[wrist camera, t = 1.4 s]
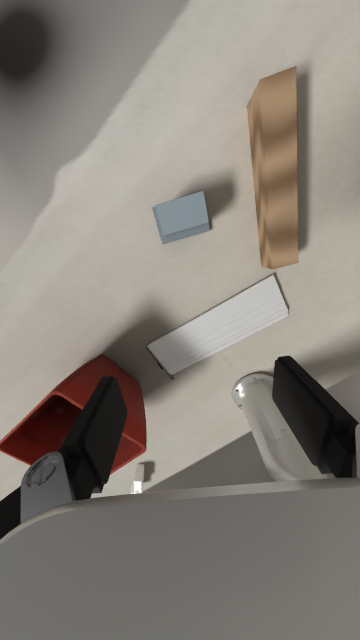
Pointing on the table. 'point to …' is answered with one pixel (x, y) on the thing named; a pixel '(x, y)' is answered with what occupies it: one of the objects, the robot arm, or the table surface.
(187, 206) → the slate ridge
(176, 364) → the baseboard molding
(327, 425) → the robot arm
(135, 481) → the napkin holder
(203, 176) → the table surface
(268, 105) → the walnut rod
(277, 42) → the table surface
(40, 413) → the plant pot
